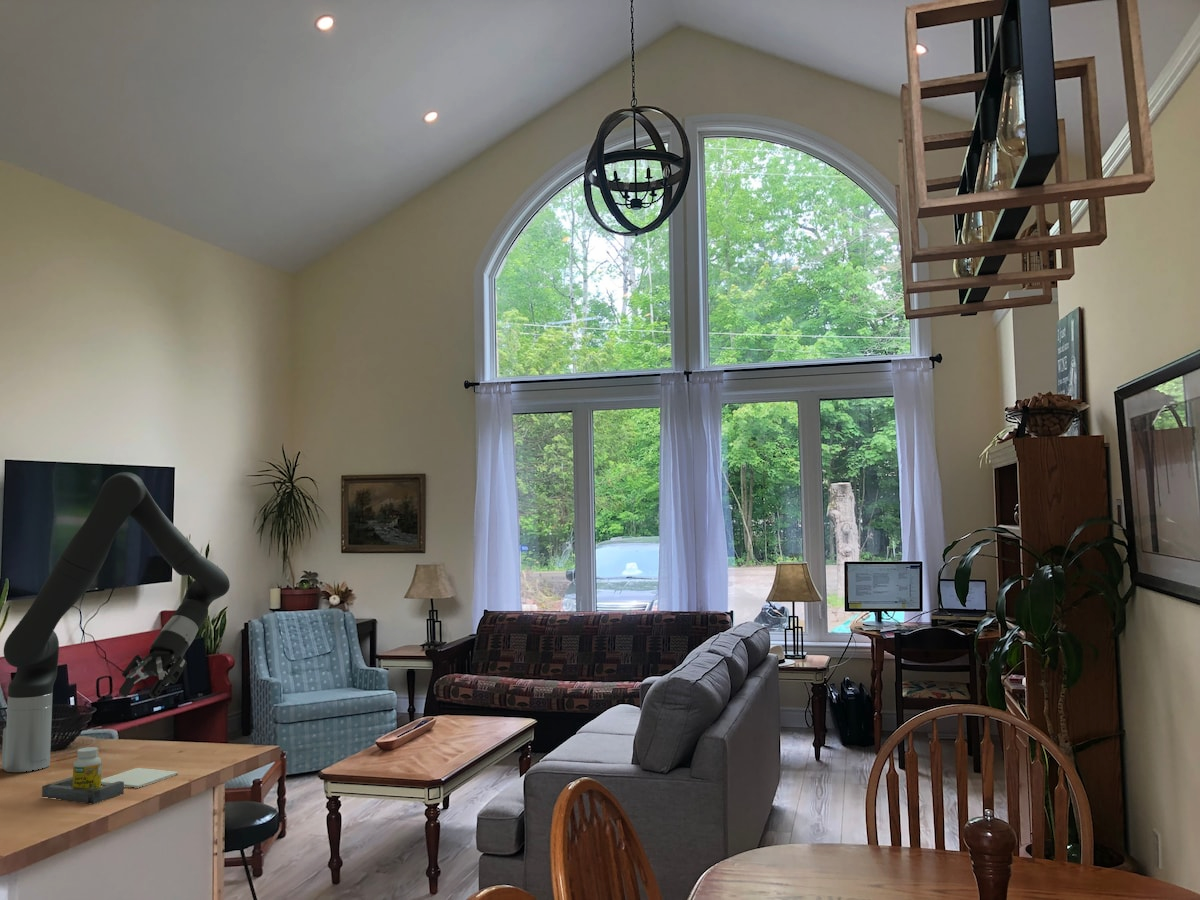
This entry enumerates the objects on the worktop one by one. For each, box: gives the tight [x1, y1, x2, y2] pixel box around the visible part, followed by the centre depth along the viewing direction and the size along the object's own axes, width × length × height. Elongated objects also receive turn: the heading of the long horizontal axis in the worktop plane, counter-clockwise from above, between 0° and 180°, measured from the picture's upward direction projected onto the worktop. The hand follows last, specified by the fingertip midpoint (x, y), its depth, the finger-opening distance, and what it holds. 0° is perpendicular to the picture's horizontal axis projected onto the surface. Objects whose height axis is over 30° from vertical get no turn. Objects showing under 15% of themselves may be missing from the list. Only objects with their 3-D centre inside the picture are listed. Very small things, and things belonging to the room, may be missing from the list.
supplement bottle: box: [72, 746, 103, 789], centre depth 200 cm, size 5×5×10 cm
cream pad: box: [101, 767, 180, 789], centre depth 211 cm, size 12×12×1 cm
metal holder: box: [41, 776, 125, 805], centre depth 199 cm, size 14×8×2 cm, turn 72°
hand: (136, 695), depth 213 cm, fingers open, 8 cm apart
